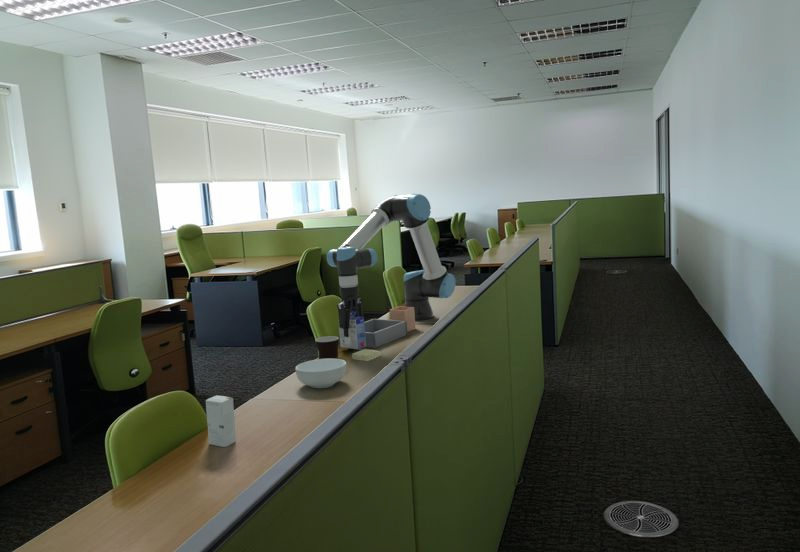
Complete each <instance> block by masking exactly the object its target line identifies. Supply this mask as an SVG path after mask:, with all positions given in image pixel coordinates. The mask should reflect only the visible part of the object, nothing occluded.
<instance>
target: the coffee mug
mask: <svg viewBox="0 0 800 552" xmlns="http://www.w3.org/2000/svg"><path fill="white" fill-rule="evenodd" d="M314 341H315V345H316V346H315V347H316V350H317V355H318V359H327V358H333V359H339V342H340V337H338V336H334V335H332V336H328V335H327V336H321V337H318V338H316V339H315V340H314Z"/></svg>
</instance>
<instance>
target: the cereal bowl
mask: <svg viewBox="0 0 800 552" xmlns="http://www.w3.org/2000/svg"><path fill="white" fill-rule="evenodd" d="M347 368H348V367H347V362H346V360H344V359H340V358H338V359H333V358H327V359H319V358H317V359H313V360H308V361H304V362H301V363H299V364H297V365H296V366H295V373H296V374H295V375H296V377H297V379H298V380H299V382H300V383H301V384H303V385H306V386H310V387H311V388H313V389H326V388H327V389H328V388H331V387H333V386H334V385H335V384H336V383H338V382H340V381H342V380H343V378H345V376H346V374H347Z"/></svg>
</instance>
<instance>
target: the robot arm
mask: <svg viewBox="0 0 800 552" xmlns="http://www.w3.org/2000/svg"><path fill="white" fill-rule="evenodd" d="M431 209H432V207H431V203H430V201H429V199H428V198H427V197H426V196H425V195H424V194H422V193H409V194H396V195H391V196H389V197H387V198H384V200H382V201H380V202H379V203H378V204H376V206H375V207H374V208H373V209H371V212H370V215H369V216H368V217H367V218H366V219H365V220H364V221H363V222H362V224H360V225H359V227H357V228H356V230H354V231H353V232H352V233H351V234H350V235H349V237H347V239H345V241H344V242H343V243H342V244H341V245H340V246H338V248H333V249H330V250H329V251H327V254H326V262H327V264H328V265H329V266H330V267H333V268H334V267H335V268H337V272H338V275H337V276H338V284H339V286H340V287H339V296H340V297H341V302H340V303H337V305H336V307H337V310H338V313H337V314H338V319H339V321H338V329H339V328H342V329H343V330H344V337H345V344H347V345H352V342H351V329H350V328H349V320H350V315H354V313H350V312H351V311H356V315H355V317H364V310H363V309H364V307H363V302H364V301H363V298H362V297H361V298H360V297H358V296H359V294H360V291H359V278H358V269H364V268H370V267H372V266H375V264H376V263H378V262H377V261H378V254H377V252H376V250H374V249H373V248H364V247H365V246H366V245H367V244H368V243H369V242H370V241H371V240H372V239H373V237H375V236H376V235H377V233H378V232H379V231H380V230H381V229H382V228H383V227H384V228H385V227H386V226H388V225H389V224H390V223H392V222H398V221H402V223H403V226H404V228H405V229H408V230H409V232H410V236H411V238H412V241H413V243H414V246H415V249H416V251H417V255H418V257H419V260H420V263H421V265H422V269H421V270H414V271H409V272H406V273H404V274H403V289H404V290H403V291H404V300H405V301H404V302H405V303H404V306H403V307H414V312H415V321H422V320H428V319H432V318H434V311H433V309H432V306H431V303H430V300H429V298H432V299H433V298H435V299H436V298H437V299H449V298H450V297H452V295H453V293H454V292H455V288H456V278H455V276H454V274H452V273H449V272H448V271H447V268H446V266H443V265H442V262H441V260H440V257H439V254H438V251H437V248H436V244H435V241H434V240H433V237H432V234H431V231H430V228H429V225H428V222H429V220H430V216H431V214H432V213H431V212H432V211H431Z"/></svg>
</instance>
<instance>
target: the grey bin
mask: <svg viewBox="0 0 800 552" xmlns="http://www.w3.org/2000/svg"><path fill="white" fill-rule="evenodd" d="M364 324H365V335H366V347H365V348H371V347H373V349H376V348H378V347H380V345H381V346H383V345H385V343H386V344H388V343H390V341H391V342H392V340H393V341H395V339H396V340H398V339H401V338H402V337H405V336H408V332H407V321H396V320H390V319H383V318H371V319H369V320H367V321H364ZM387 342H388V343H387ZM382 344H383V345H382ZM377 346H378V347H377ZM375 347H376V348H375Z"/></svg>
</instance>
